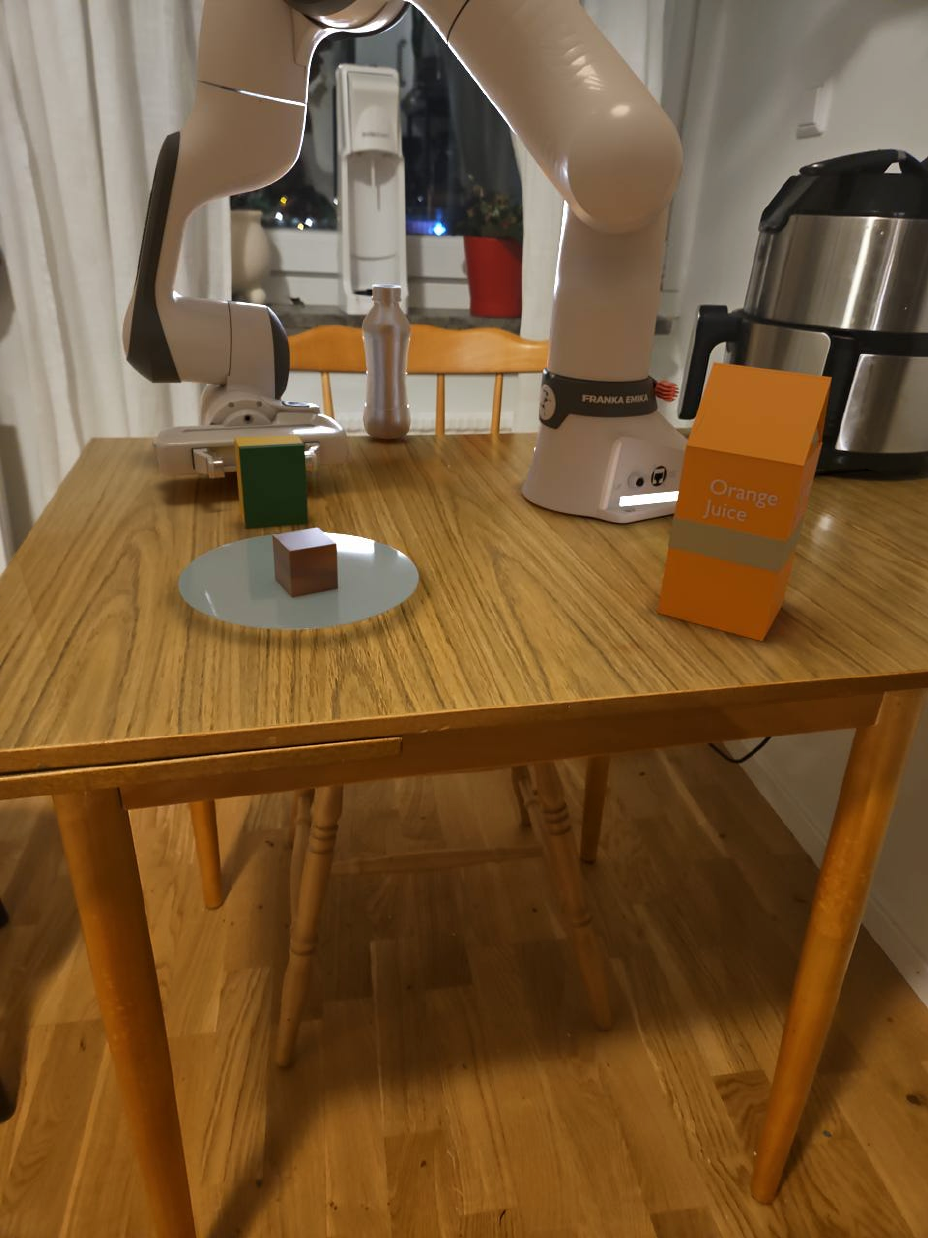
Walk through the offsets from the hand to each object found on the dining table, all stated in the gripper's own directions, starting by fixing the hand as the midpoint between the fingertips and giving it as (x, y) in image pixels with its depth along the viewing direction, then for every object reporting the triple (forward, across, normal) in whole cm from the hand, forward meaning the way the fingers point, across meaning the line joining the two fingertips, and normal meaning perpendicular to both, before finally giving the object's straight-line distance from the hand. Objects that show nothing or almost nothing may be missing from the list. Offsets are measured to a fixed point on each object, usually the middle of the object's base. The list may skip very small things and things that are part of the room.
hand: (264, 467), depth 83 cm
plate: (+19, 0, +5) cm, 20 cm away
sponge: (+5, 0, +5) cm, 7 cm away
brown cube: (+21, 0, +4) cm, 21 cm away
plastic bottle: (-27, +21, +5) cm, 35 cm away
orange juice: (+33, +33, +5) cm, 47 cm away
